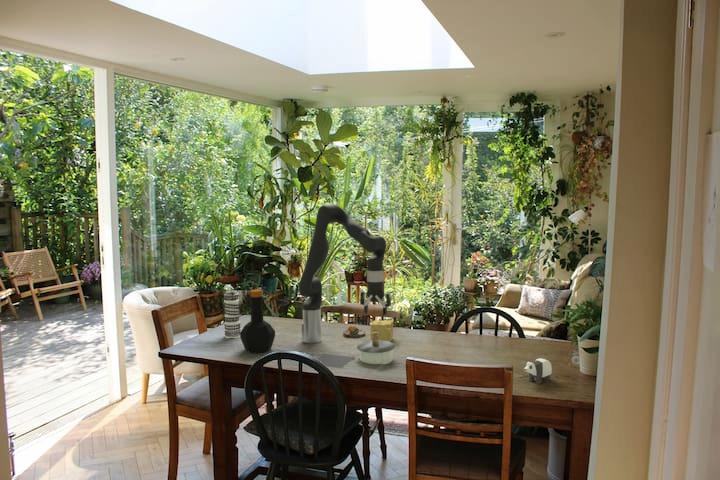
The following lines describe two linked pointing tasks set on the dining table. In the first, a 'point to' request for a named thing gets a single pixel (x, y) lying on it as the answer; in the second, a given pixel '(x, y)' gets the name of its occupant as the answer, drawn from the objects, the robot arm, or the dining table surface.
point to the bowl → (376, 357)
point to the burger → (353, 332)
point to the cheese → (383, 329)
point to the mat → (335, 360)
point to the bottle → (257, 327)
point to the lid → (375, 345)
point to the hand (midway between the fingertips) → (375, 314)
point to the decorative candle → (231, 314)
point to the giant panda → (538, 370)
